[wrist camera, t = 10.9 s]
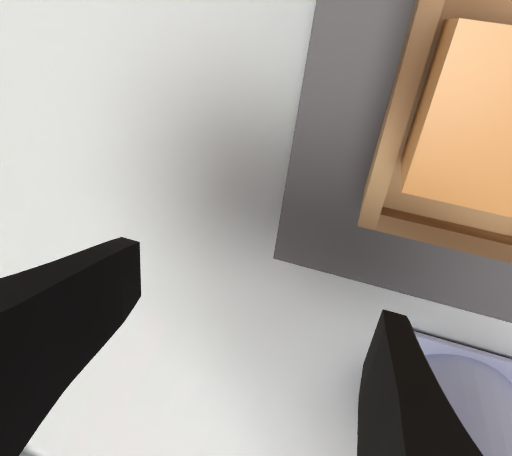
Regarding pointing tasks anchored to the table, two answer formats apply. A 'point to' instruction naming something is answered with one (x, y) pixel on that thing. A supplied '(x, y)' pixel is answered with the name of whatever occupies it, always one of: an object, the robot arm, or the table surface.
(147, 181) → the table surface
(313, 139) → the dock
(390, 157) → the pallet
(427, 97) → the light brown block
